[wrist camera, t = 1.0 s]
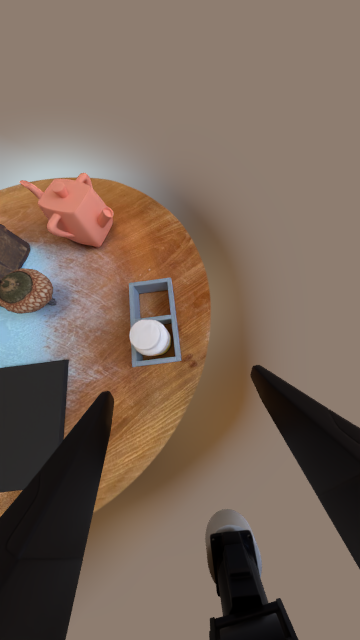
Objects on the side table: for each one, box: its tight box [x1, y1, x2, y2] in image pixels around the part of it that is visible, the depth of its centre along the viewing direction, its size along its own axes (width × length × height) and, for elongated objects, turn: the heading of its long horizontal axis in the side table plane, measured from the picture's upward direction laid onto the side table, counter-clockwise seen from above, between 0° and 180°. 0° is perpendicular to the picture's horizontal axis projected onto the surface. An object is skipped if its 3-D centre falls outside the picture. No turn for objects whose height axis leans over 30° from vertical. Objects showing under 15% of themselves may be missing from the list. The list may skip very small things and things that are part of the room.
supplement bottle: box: [129, 320, 172, 356], centre depth 23 cm, size 5×5×10 cm
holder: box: [129, 278, 181, 367], centre depth 27 cm, size 15×8×4 cm, turn 7°
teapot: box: [20, 173, 113, 248], centre depth 30 cm, size 14×12×10 cm
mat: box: [0, 360, 69, 492], centre depth 25 cm, size 19×20×1 cm
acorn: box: [0, 268, 57, 313], centre depth 26 cm, size 8×8×10 cm
